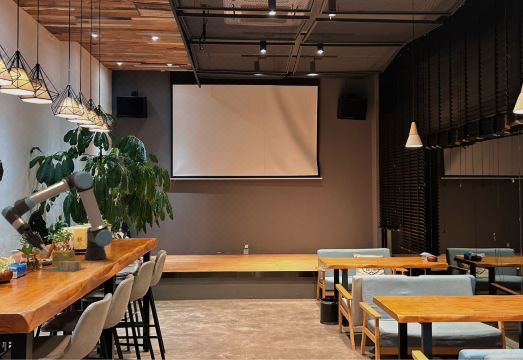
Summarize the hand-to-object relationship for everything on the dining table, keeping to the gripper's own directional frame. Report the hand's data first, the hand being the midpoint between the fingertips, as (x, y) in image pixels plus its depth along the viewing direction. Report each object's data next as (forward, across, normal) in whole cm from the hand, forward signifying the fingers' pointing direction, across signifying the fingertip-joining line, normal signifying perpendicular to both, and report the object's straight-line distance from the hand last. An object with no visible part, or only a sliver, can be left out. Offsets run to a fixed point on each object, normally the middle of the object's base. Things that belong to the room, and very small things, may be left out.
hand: (46, 253), depth 310 cm
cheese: (+9, -17, -7) cm, 20 cm away
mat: (+16, 0, +1) cm, 16 cm away
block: (+12, 0, +1) cm, 12 cm away
